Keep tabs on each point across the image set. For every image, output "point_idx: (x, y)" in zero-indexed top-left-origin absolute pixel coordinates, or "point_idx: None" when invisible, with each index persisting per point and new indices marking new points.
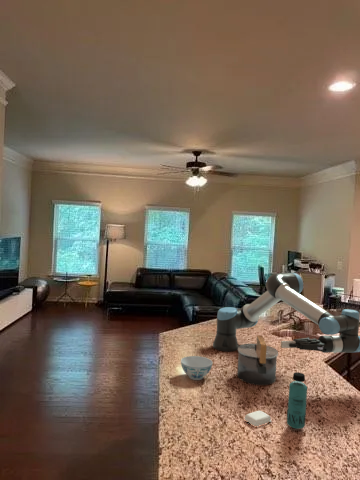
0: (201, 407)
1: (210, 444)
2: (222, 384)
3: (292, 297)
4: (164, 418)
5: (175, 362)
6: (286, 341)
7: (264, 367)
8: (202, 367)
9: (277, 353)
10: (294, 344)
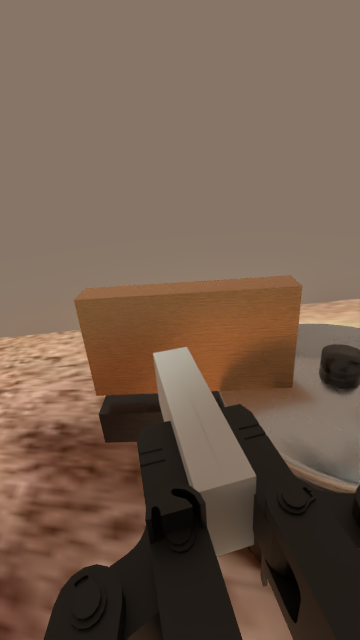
0: (59, 365)
1: None
2: None
3: None
4: (34, 335)
5: (301, 316)
6: (179, 381)
7: (102, 410)
8: None
9: (342, 477)
10: (143, 484)
